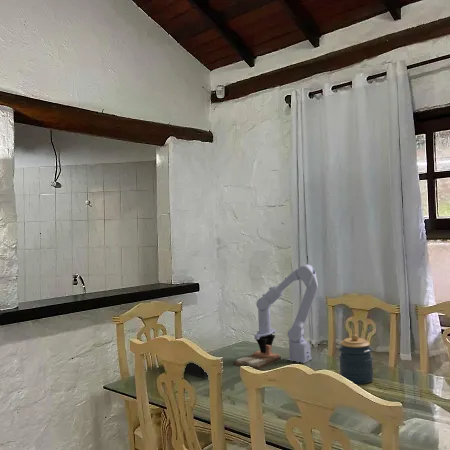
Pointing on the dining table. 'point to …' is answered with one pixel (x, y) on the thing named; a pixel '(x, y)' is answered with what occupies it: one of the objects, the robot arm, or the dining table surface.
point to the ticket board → (255, 361)
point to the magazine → (195, 370)
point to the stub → (266, 353)
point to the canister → (356, 360)
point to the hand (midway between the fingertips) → (265, 351)
